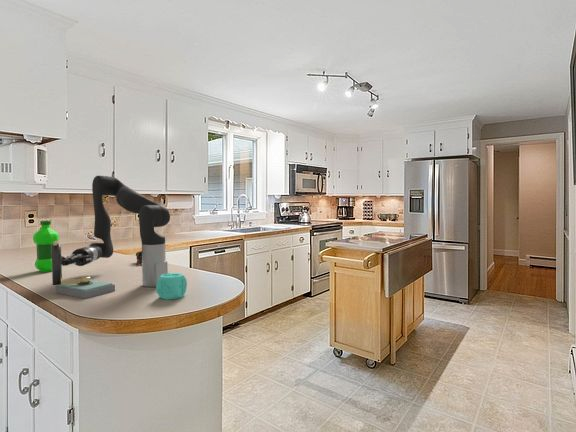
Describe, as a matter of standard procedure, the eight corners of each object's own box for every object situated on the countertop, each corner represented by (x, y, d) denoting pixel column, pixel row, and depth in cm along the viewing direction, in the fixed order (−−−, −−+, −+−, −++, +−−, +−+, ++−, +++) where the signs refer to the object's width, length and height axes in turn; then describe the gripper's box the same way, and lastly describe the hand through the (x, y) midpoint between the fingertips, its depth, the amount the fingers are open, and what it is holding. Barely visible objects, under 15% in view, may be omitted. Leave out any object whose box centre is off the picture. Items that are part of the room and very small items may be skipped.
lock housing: (115, 290, 135) (114, 282, 135) (85, 298, 124) (84, 289, 124) (85, 285, 143) (85, 277, 143) (55, 292, 132) (55, 284, 132)
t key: (90, 280, 137) (89, 239, 136) (90, 283, 131) (89, 240, 131) (53, 284, 131) (52, 241, 130) (51, 287, 126) (50, 242, 125)
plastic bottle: (29, 272, 169) (27, 221, 168) (49, 268, 179) (48, 220, 178) (44, 273, 166) (42, 221, 165) (64, 269, 176) (62, 220, 175)
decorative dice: (176, 300, 122) (176, 278, 122) (156, 299, 123) (155, 277, 123) (187, 294, 130) (186, 273, 130) (167, 293, 131) (167, 272, 131)
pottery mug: (158, 262, 197) (155, 251, 192) (145, 272, 190) (142, 261, 185) (143, 256, 201) (140, 245, 196) (130, 265, 194) (126, 254, 189)
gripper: (68, 247, 150) (45, 253, 133) (100, 247, 152) (81, 253, 135) (69, 264, 151) (46, 273, 134) (101, 263, 152) (82, 272, 135)
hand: (63, 263), depth 134 cm, fingers closed
